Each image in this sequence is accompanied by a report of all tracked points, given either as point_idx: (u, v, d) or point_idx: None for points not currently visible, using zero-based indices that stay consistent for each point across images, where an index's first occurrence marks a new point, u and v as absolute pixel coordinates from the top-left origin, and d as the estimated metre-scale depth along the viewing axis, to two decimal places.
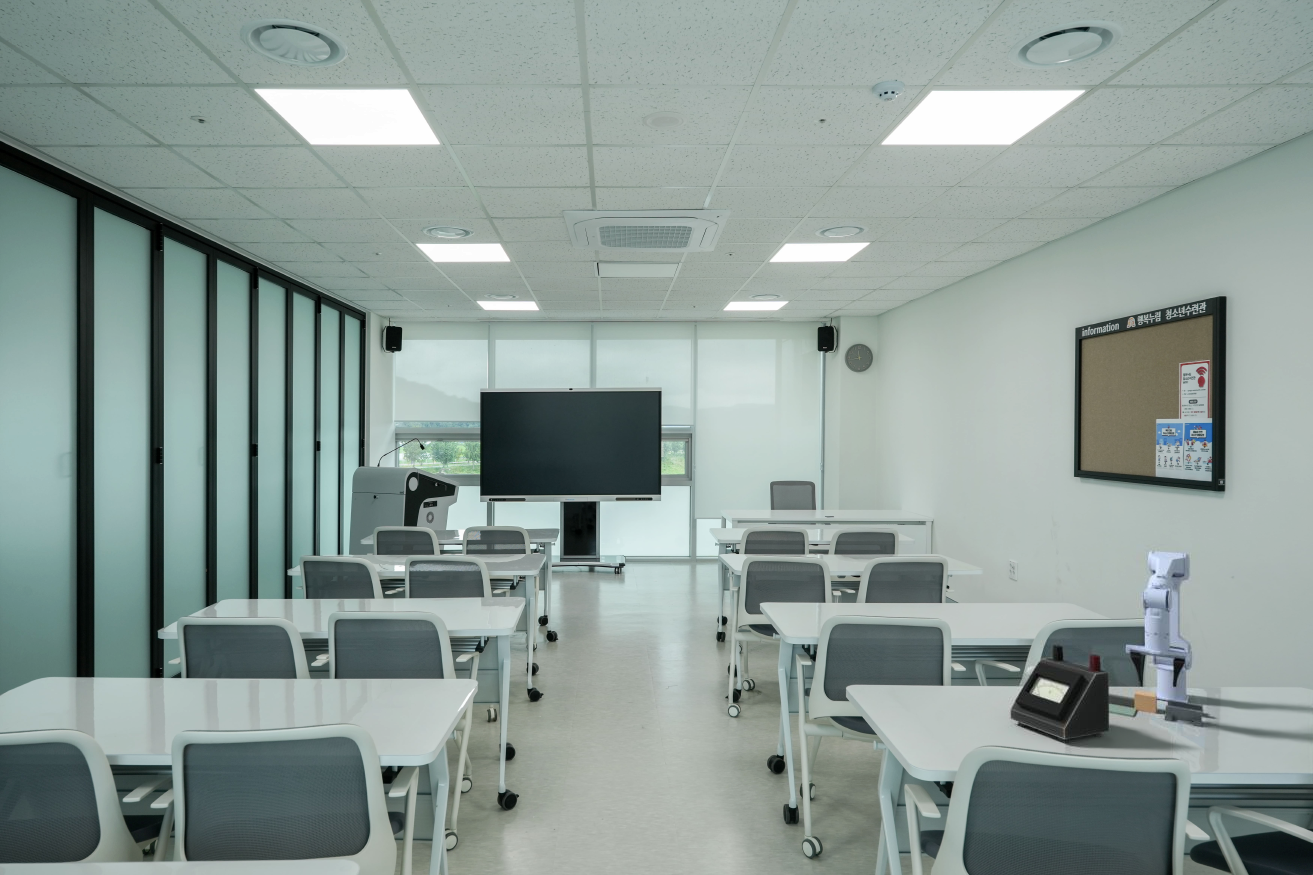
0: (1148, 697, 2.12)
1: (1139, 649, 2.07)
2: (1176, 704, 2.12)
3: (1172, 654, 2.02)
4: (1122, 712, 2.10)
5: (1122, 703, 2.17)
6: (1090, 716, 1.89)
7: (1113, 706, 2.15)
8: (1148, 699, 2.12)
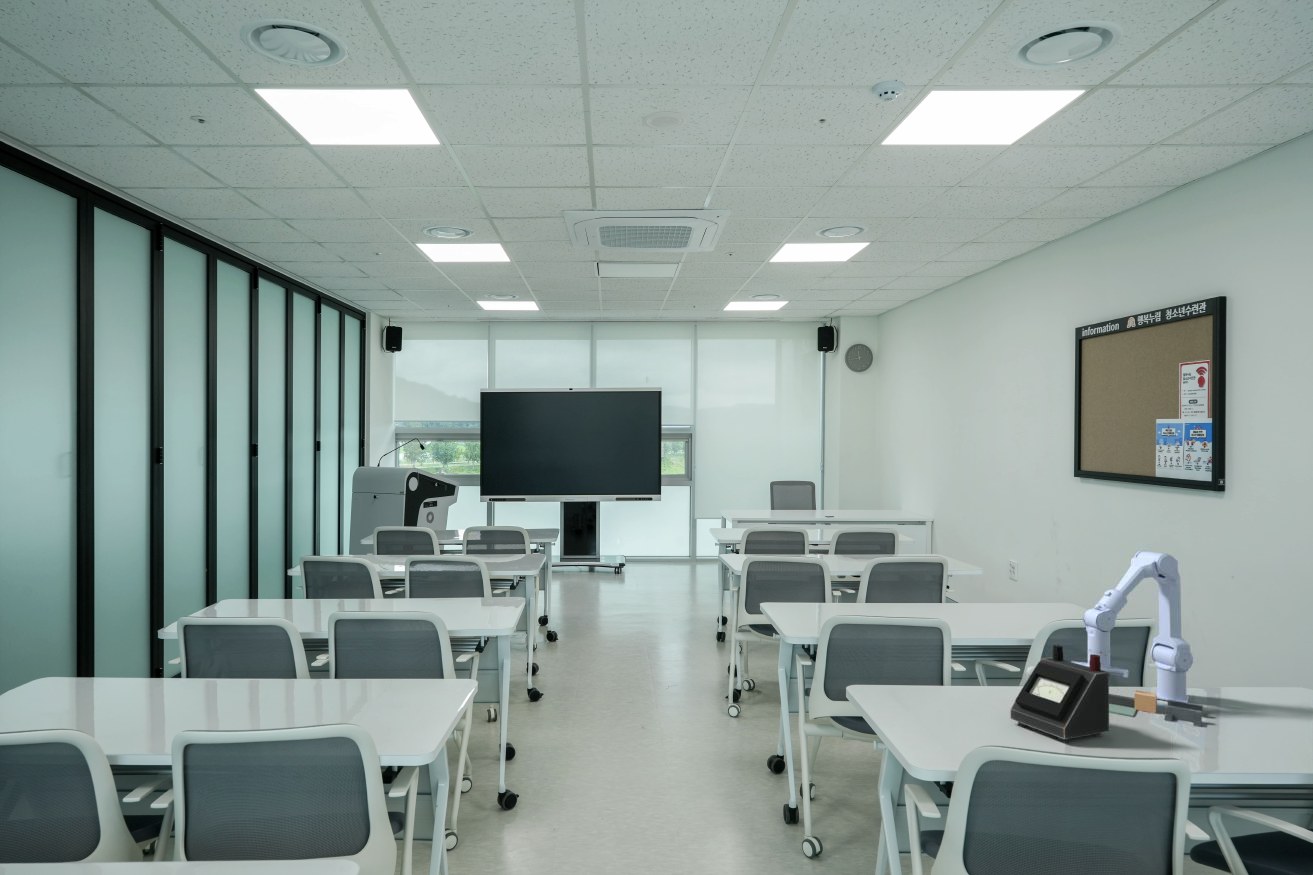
0: (1148, 697, 2.12)
1: None
2: (1176, 704, 2.12)
3: (1111, 671, 2.18)
4: (1122, 712, 2.10)
5: (1122, 703, 2.17)
6: (1090, 716, 1.89)
7: (1113, 706, 2.15)
8: (1148, 699, 2.12)
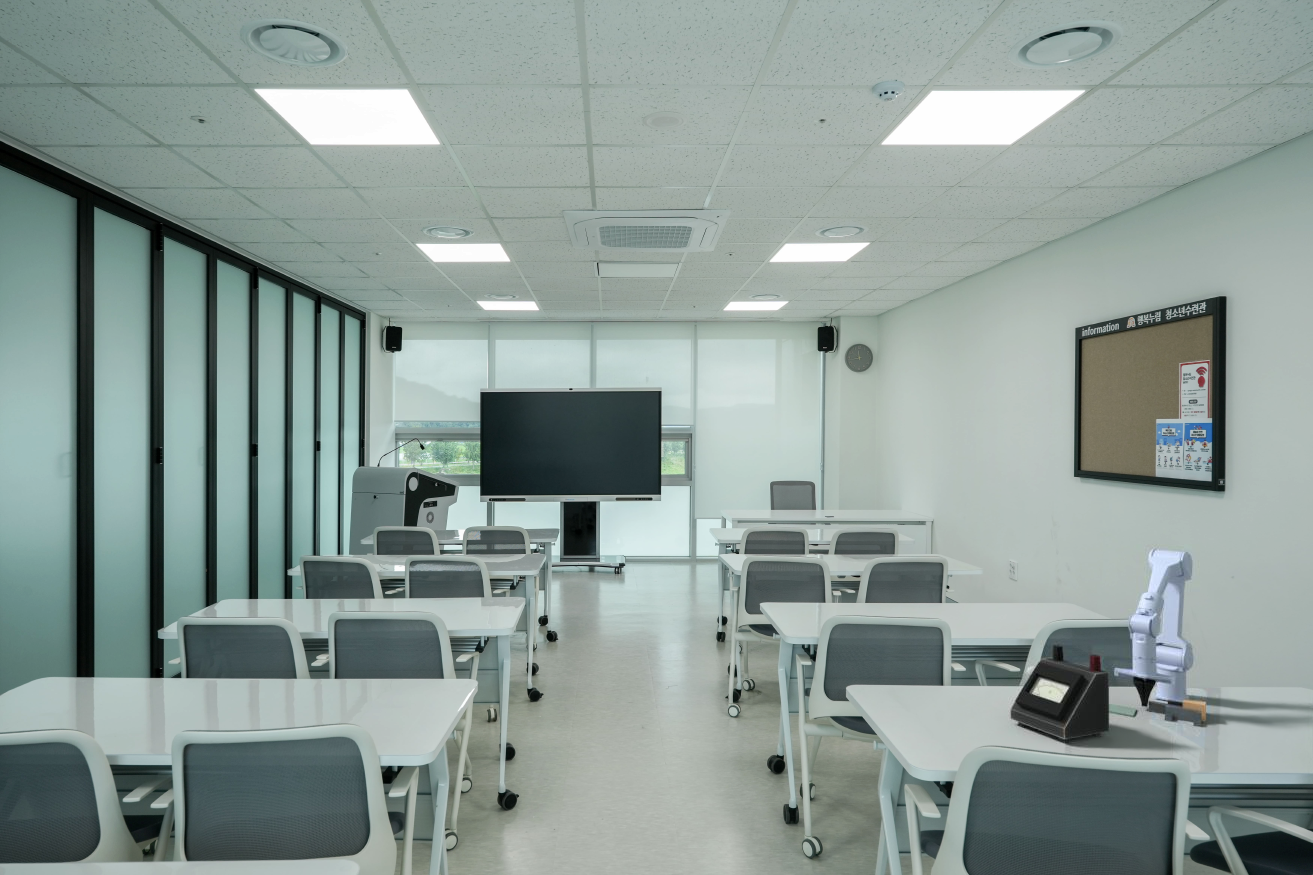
0: (1197, 705, 2.05)
1: (1127, 672, 2.16)
2: (1176, 704, 2.12)
3: (1158, 678, 2.11)
4: (1122, 712, 2.10)
5: None
6: (1090, 716, 1.89)
7: (1113, 706, 2.15)
8: (1197, 707, 2.05)
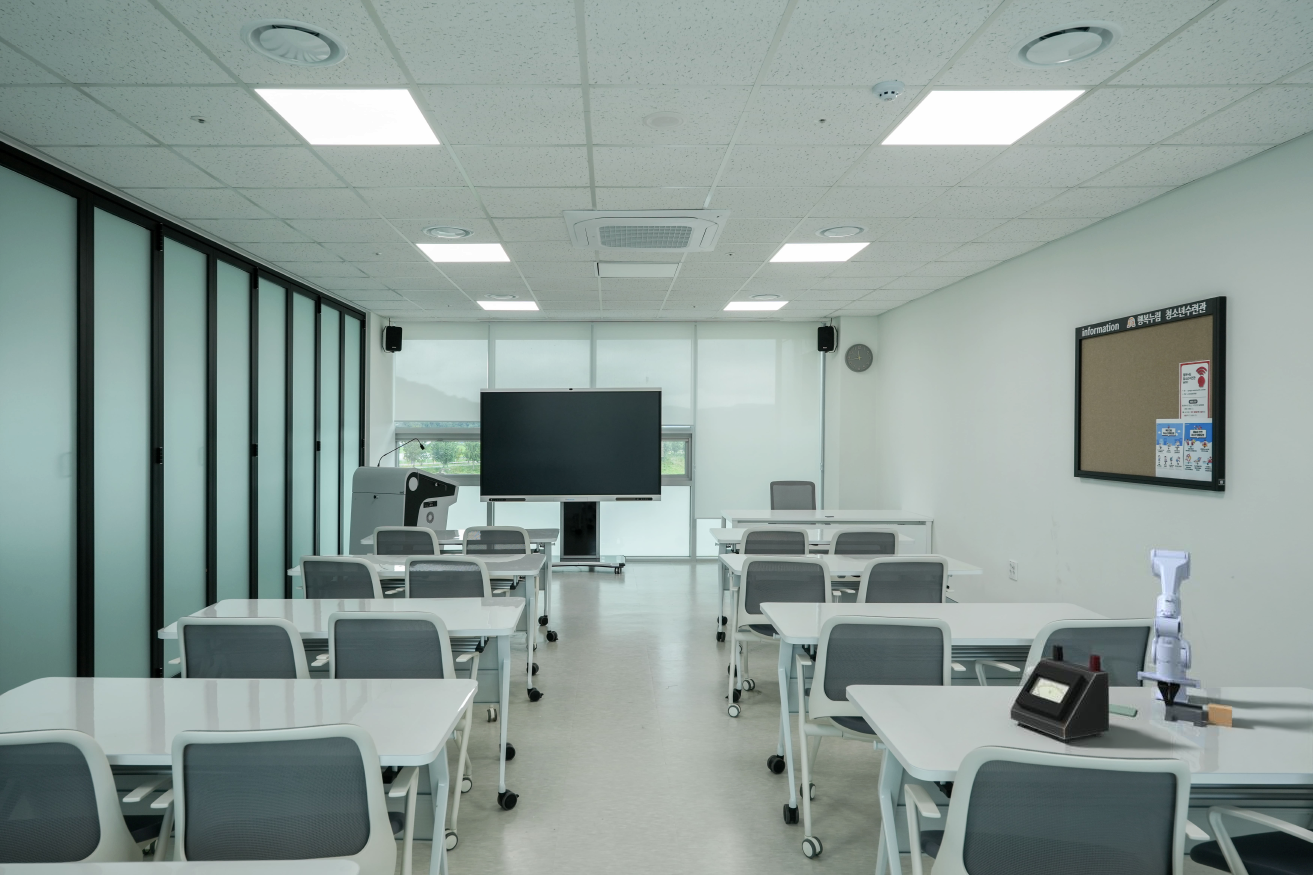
0: (1224, 710, 2.02)
1: (1151, 676, 2.12)
2: (1176, 704, 2.12)
3: (1183, 682, 2.08)
4: (1122, 712, 2.10)
5: None
6: (1090, 716, 1.89)
7: (1113, 706, 2.15)
8: (1223, 712, 2.02)
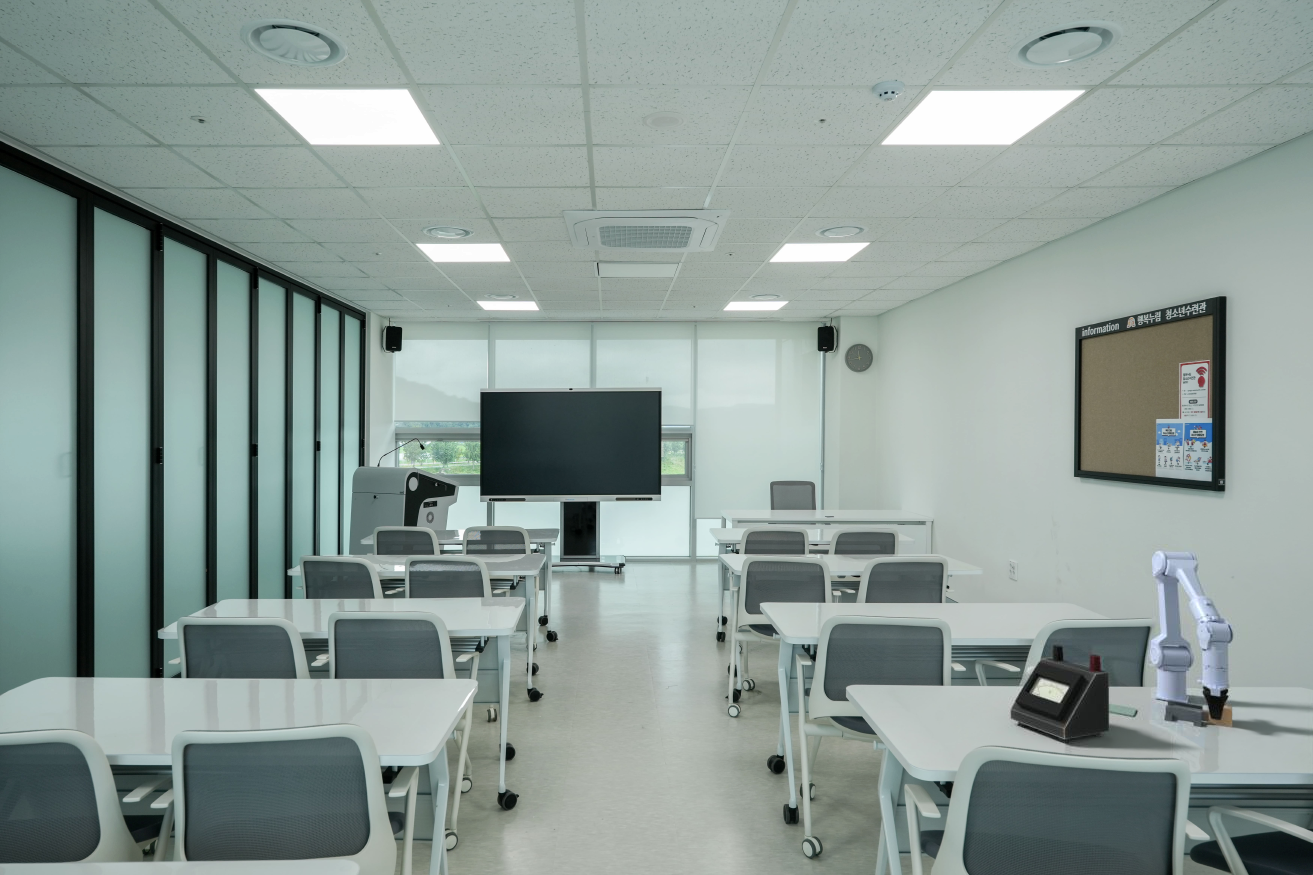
0: (1224, 710, 2.02)
1: None
2: (1176, 704, 2.12)
3: (1206, 685, 2.03)
4: (1122, 712, 2.10)
5: None
6: (1090, 716, 1.89)
7: (1113, 706, 2.15)
8: (1224, 712, 2.02)
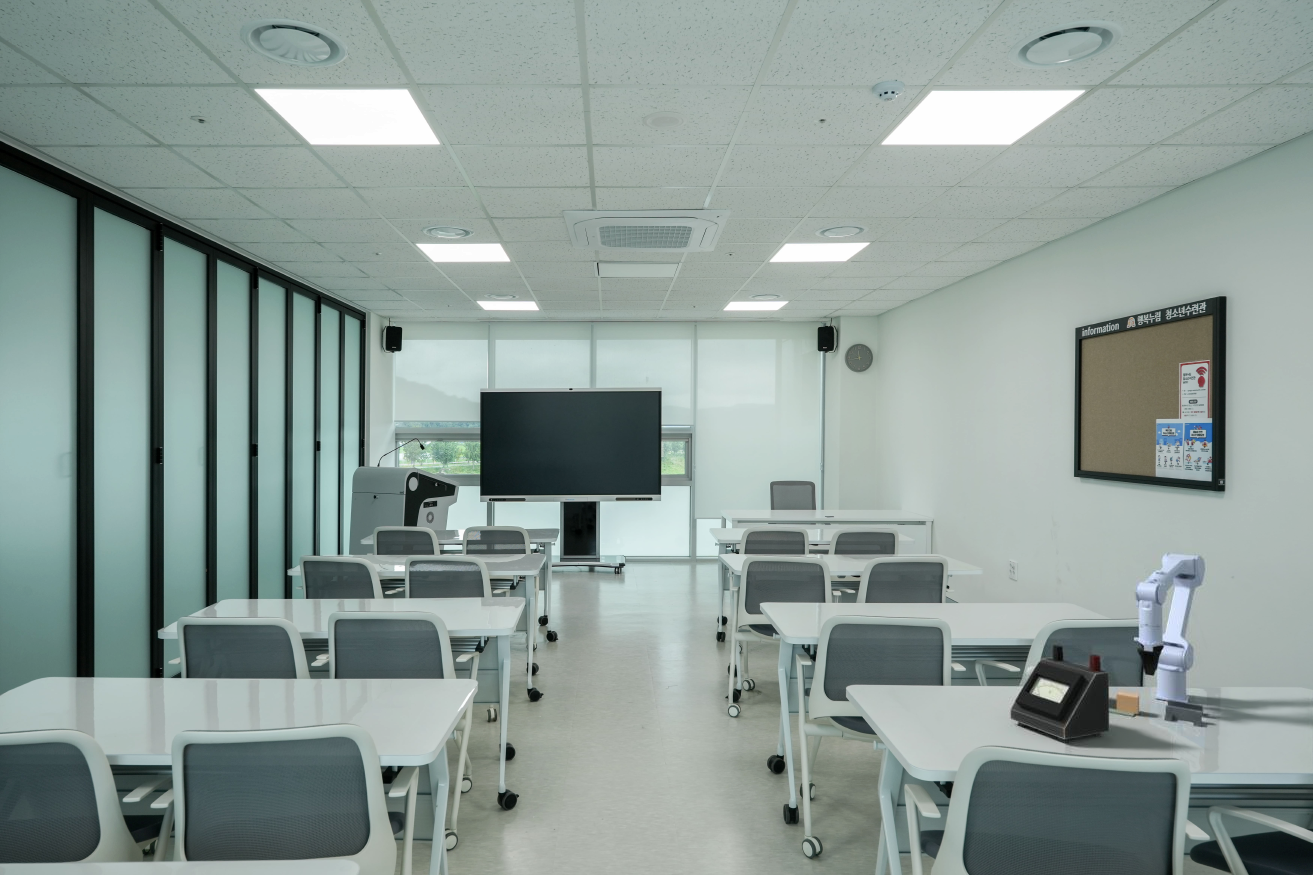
0: (1130, 698, 2.10)
1: None
2: (1176, 704, 2.12)
3: (1141, 642, 2.16)
4: (1122, 712, 2.10)
5: None
6: (1090, 716, 1.89)
7: None
8: (1130, 700, 2.10)
